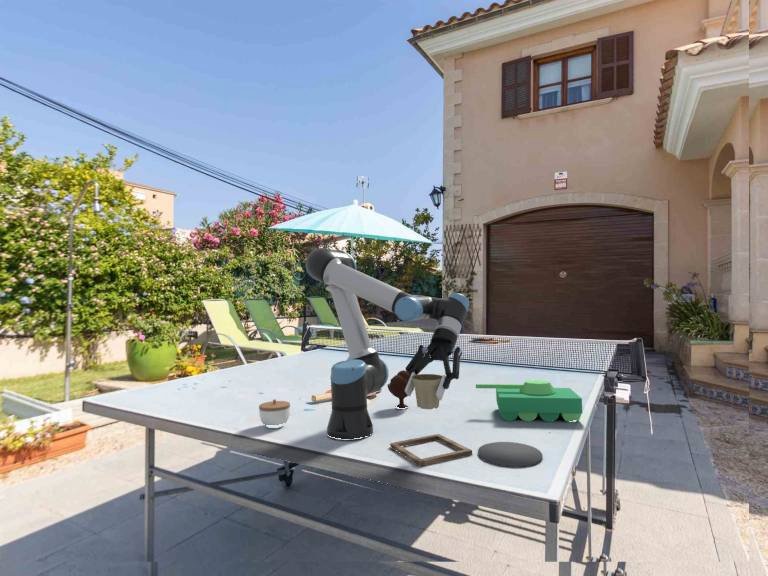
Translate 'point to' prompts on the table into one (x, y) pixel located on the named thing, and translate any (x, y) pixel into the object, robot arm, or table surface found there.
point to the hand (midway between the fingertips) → (422, 395)
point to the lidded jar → (274, 412)
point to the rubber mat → (510, 454)
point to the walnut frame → (460, 453)
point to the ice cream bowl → (399, 387)
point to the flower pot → (426, 390)
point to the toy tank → (536, 401)
